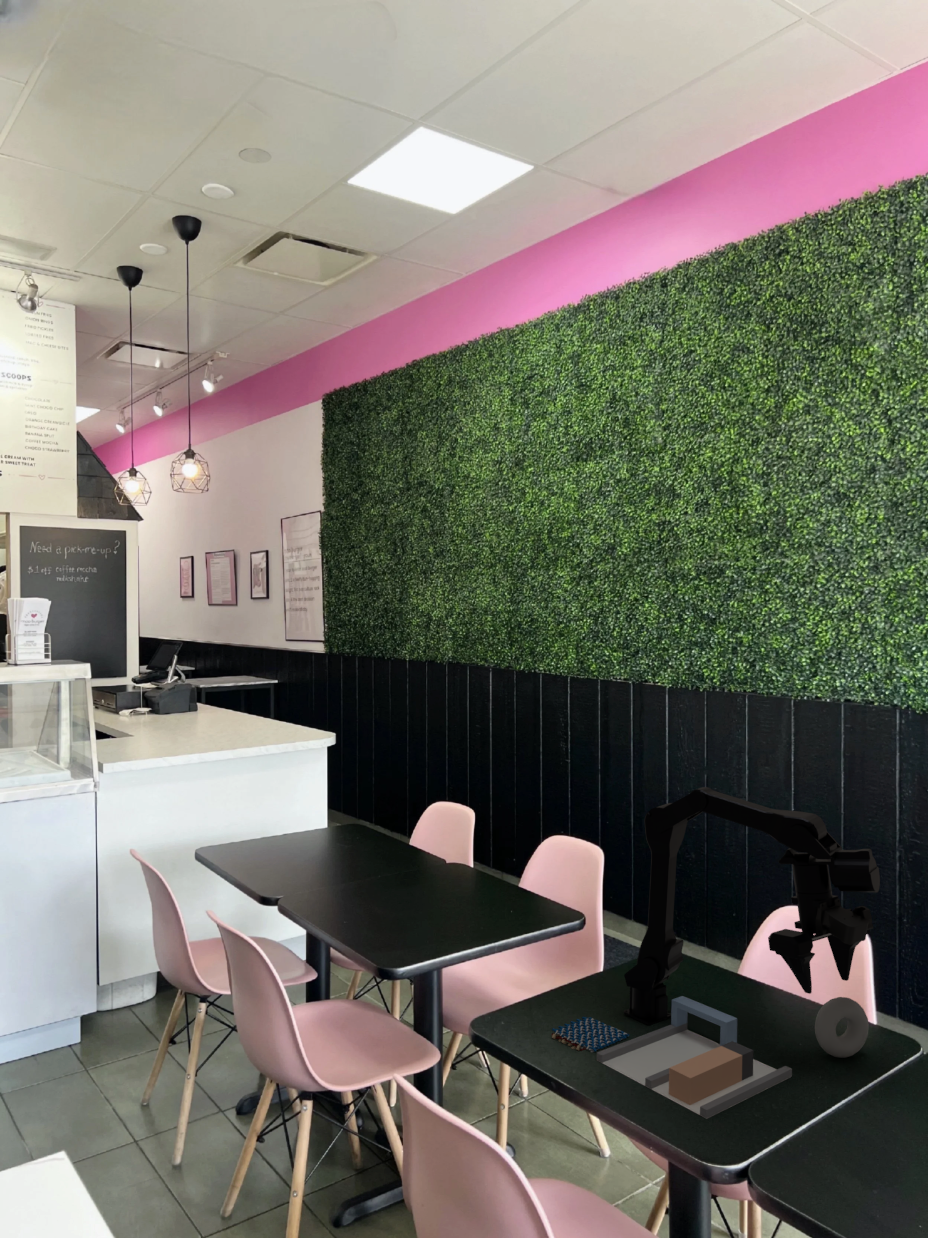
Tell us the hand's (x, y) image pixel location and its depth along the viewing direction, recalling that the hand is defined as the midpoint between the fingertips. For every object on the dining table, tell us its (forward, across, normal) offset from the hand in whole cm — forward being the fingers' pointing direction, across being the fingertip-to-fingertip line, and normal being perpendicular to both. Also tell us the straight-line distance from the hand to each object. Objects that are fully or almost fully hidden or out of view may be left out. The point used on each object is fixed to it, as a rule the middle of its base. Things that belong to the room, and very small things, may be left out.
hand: (826, 986), depth 148 cm
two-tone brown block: (+11, -23, +5) cm, 26 cm away
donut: (+14, +5, +4) cm, 15 cm away
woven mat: (+9, -29, +28) cm, 41 cm away
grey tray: (+11, -22, +11) cm, 27 cm away
